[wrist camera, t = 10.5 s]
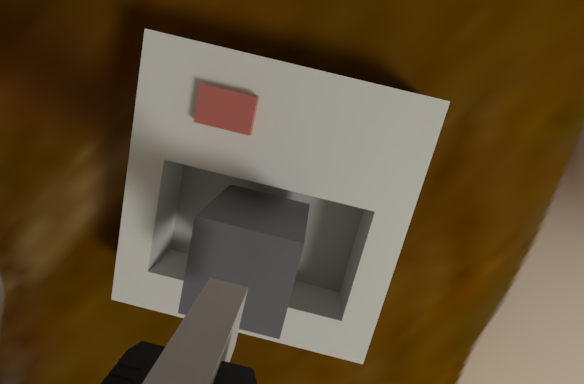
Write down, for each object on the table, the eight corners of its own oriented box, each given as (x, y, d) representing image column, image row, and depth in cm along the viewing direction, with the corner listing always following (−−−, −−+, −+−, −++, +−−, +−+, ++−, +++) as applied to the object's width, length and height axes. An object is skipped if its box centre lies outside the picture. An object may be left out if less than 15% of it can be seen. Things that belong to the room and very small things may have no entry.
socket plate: (174, 40, 23) (138, 26, 19) (428, 101, 23) (454, 101, 18) (141, 270, 27) (105, 304, 23) (357, 326, 27) (363, 371, 22)
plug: (235, 179, 24) (194, 216, 17) (310, 197, 24) (304, 243, 17) (221, 248, 26) (177, 313, 18) (293, 266, 26) (279, 339, 18)
